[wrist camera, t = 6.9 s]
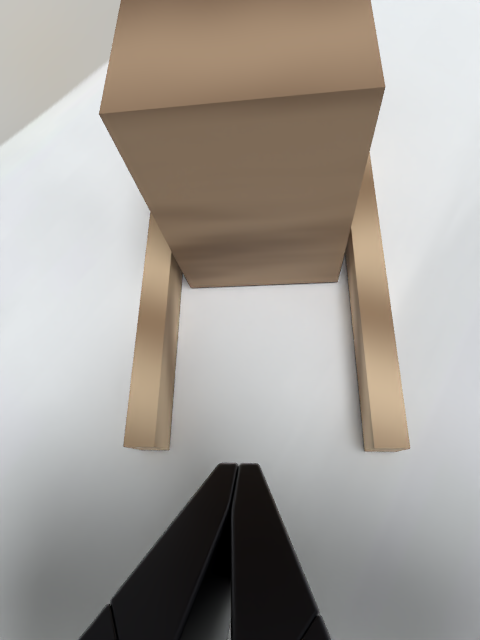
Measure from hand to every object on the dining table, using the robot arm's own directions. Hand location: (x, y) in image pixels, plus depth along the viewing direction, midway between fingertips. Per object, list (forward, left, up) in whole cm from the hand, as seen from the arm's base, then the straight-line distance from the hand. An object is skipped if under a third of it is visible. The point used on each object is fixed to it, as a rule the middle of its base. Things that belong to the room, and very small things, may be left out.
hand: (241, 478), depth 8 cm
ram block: (+9, -9, -8) cm, 15 cm away
